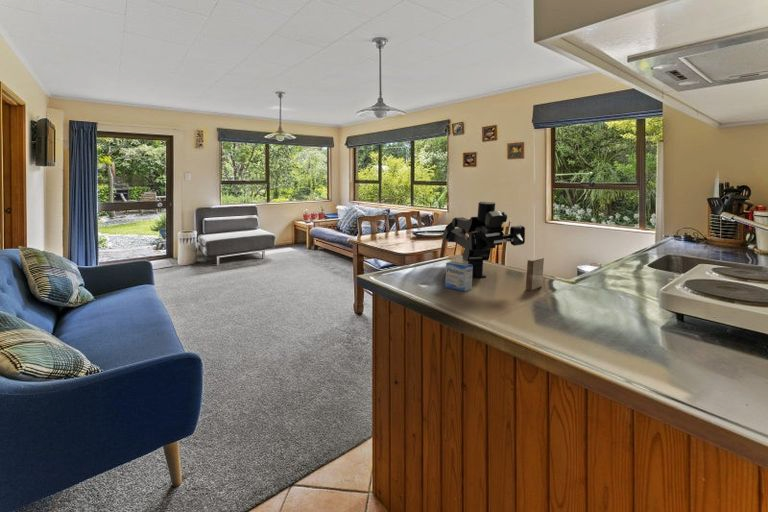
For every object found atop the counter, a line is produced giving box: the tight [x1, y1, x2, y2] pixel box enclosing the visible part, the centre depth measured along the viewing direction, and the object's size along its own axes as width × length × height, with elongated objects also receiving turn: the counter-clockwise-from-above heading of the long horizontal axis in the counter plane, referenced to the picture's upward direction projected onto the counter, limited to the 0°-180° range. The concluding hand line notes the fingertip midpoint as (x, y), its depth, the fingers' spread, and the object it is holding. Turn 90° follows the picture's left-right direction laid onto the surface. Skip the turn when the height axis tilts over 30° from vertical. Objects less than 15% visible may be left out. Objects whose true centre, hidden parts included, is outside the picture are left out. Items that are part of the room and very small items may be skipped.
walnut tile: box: [525, 256, 545, 291], centre depth 136 cm, size 2×7×10 cm, turn 132°
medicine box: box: [444, 261, 473, 292], centre depth 137 cm, size 8×4×9 cm, turn 47°
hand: (508, 244), depth 127 cm, fingers open, 9 cm apart
